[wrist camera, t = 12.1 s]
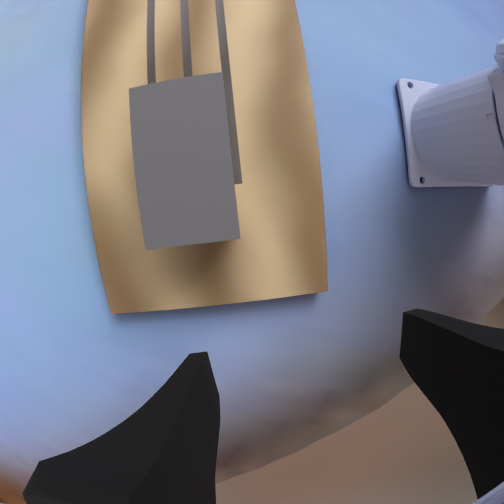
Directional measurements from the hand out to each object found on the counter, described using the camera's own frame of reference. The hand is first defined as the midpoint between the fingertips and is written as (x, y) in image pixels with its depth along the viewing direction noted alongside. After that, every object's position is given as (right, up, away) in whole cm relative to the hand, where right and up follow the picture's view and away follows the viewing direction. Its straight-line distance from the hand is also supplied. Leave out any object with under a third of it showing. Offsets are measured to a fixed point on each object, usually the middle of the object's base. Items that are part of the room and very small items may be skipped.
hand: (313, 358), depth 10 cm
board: (-6, +13, +7) cm, 16 cm away
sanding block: (-5, +9, +6) cm, 12 cm away
